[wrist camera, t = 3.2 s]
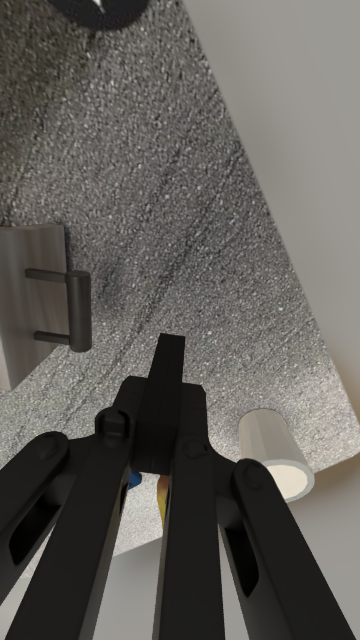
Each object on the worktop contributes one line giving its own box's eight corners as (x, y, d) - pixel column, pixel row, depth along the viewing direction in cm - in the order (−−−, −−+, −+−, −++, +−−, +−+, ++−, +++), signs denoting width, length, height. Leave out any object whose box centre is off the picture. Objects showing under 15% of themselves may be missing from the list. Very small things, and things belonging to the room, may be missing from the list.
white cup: (258, 452, 32) (273, 512, 26) (221, 425, 30) (228, 482, 24) (302, 426, 30) (330, 485, 23) (265, 395, 28) (285, 449, 22)
